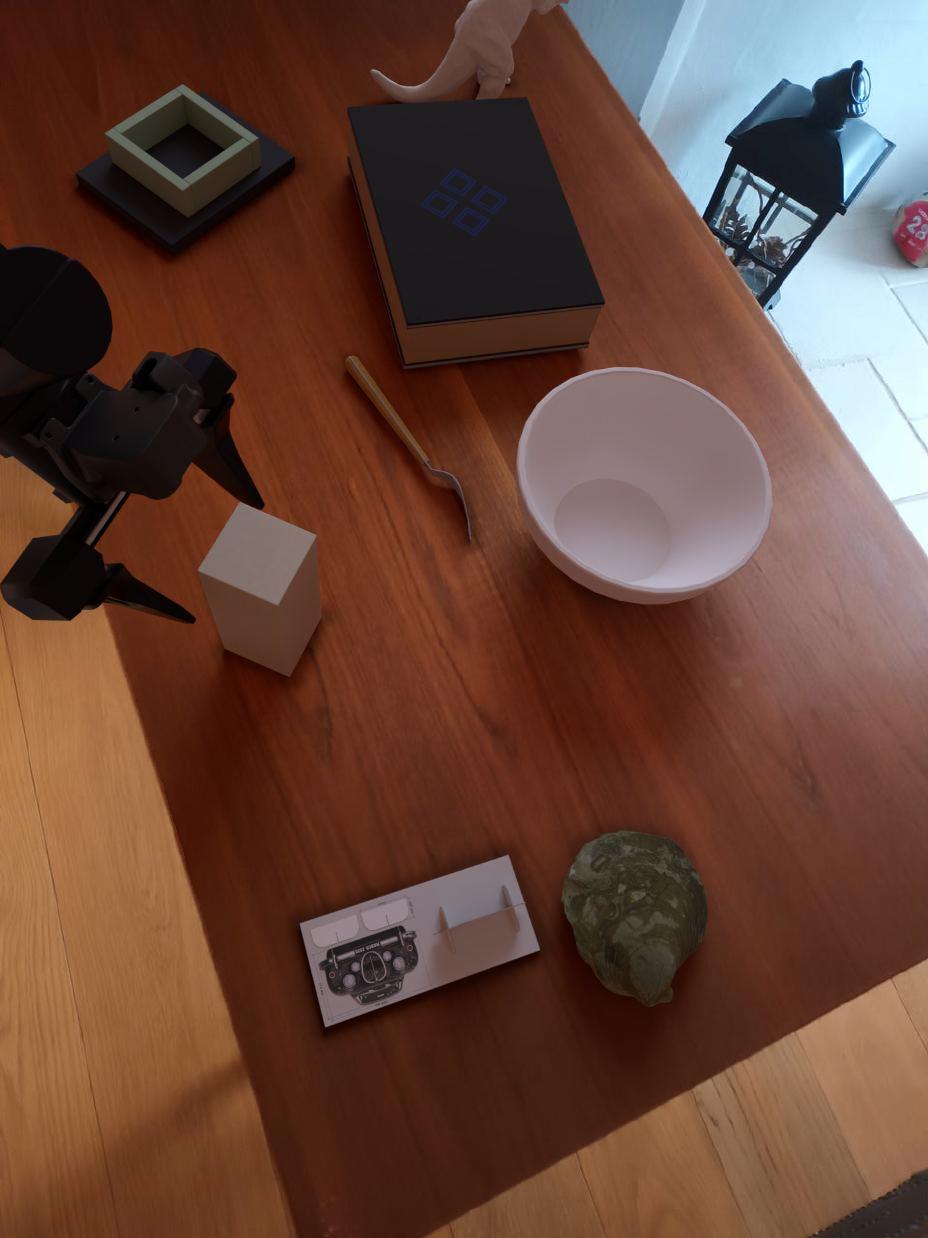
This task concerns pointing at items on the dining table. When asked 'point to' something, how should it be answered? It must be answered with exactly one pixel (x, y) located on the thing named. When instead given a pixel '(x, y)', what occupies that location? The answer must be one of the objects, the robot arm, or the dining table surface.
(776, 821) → the dining table surface
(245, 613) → the white rectangular block
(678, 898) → the seashell
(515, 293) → the book
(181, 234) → the stepped rectangular base
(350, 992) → the car cutout
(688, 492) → the bowl
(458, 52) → the dinosaur figurine
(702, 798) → the dining table surface
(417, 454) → the fork
